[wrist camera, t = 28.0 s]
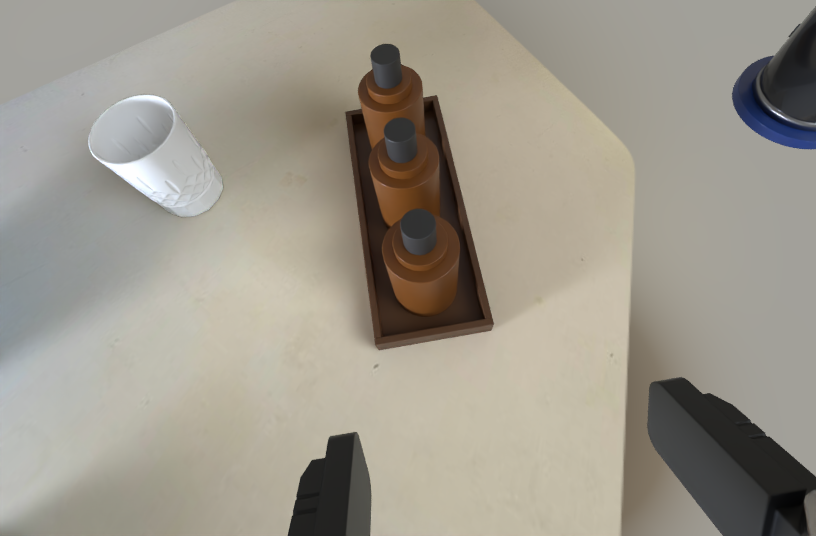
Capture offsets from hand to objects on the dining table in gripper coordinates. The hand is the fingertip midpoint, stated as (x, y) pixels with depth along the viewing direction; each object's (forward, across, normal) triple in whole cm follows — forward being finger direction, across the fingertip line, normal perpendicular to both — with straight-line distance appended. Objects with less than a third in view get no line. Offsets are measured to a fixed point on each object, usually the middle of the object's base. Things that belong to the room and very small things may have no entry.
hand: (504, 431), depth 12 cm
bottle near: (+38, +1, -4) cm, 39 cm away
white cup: (+39, +24, -3) cm, 46 cm away
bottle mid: (+33, +1, +2) cm, 33 cm away
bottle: (+27, +1, +8) cm, 28 cm away
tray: (+33, +1, +2) cm, 33 cm away
